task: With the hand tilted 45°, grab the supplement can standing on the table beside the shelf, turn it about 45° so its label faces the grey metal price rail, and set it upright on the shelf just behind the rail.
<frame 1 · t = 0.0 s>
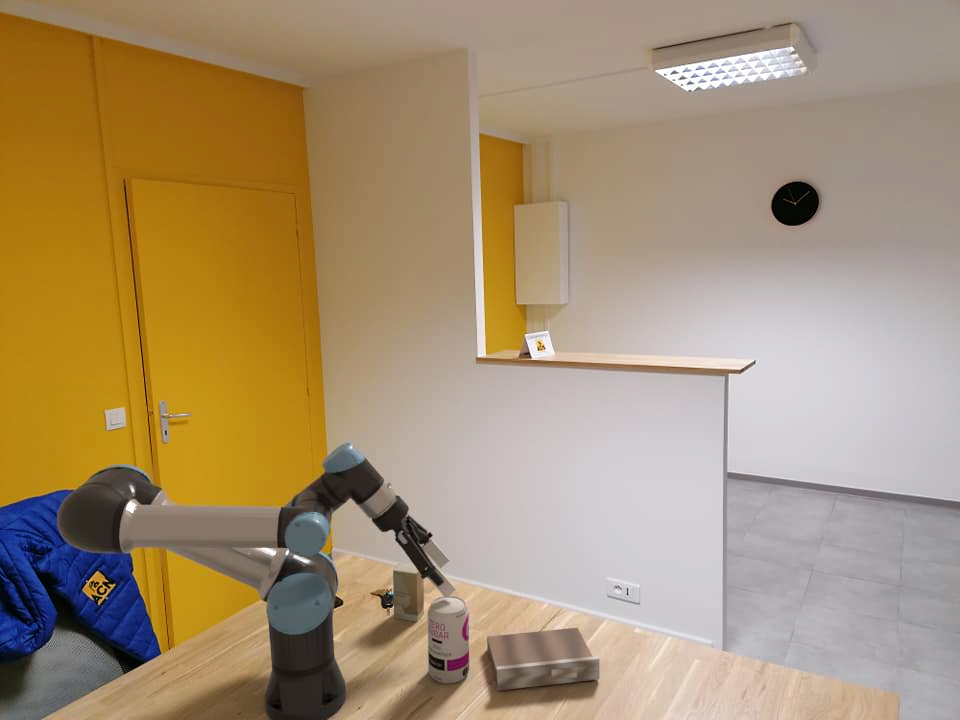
hand: (448, 578, 149), 16 cm above the table, tool tilted 35°, fingers open, 13 cm apart
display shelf: (540, 663, 145), on the table
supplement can: (448, 674, 142), on the table, touching gripper
skincare box: (409, 616, 165), on the table
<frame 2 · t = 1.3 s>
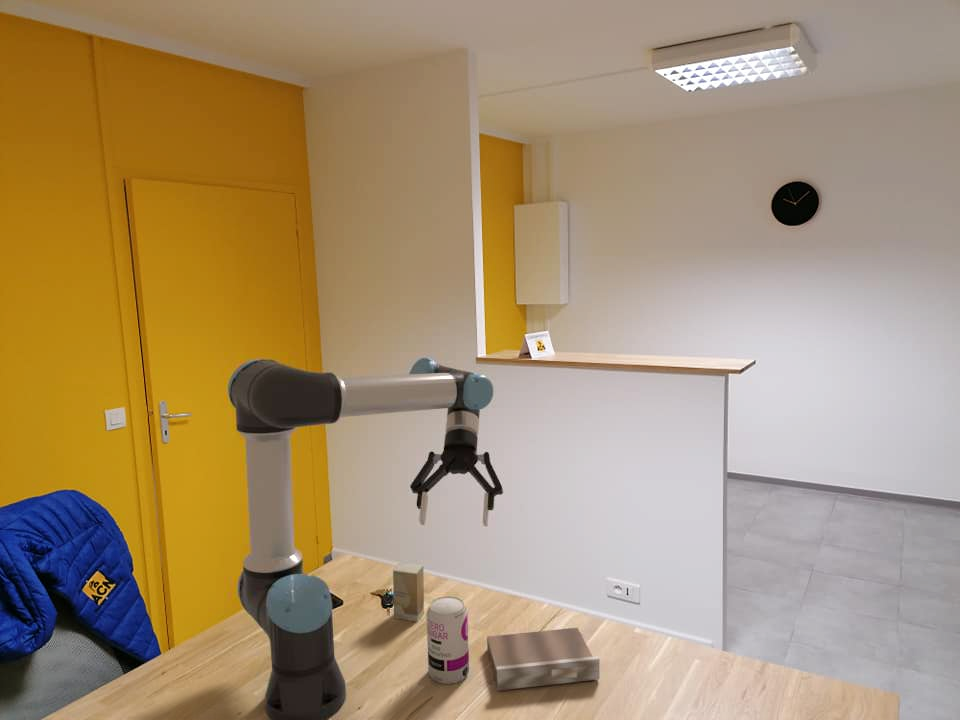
hand: (453, 523, 148), 28 cm above the table, tool tilted 45°, fingers open, 13 cm apart
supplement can: (449, 674, 142), on the table
everything else where it was.
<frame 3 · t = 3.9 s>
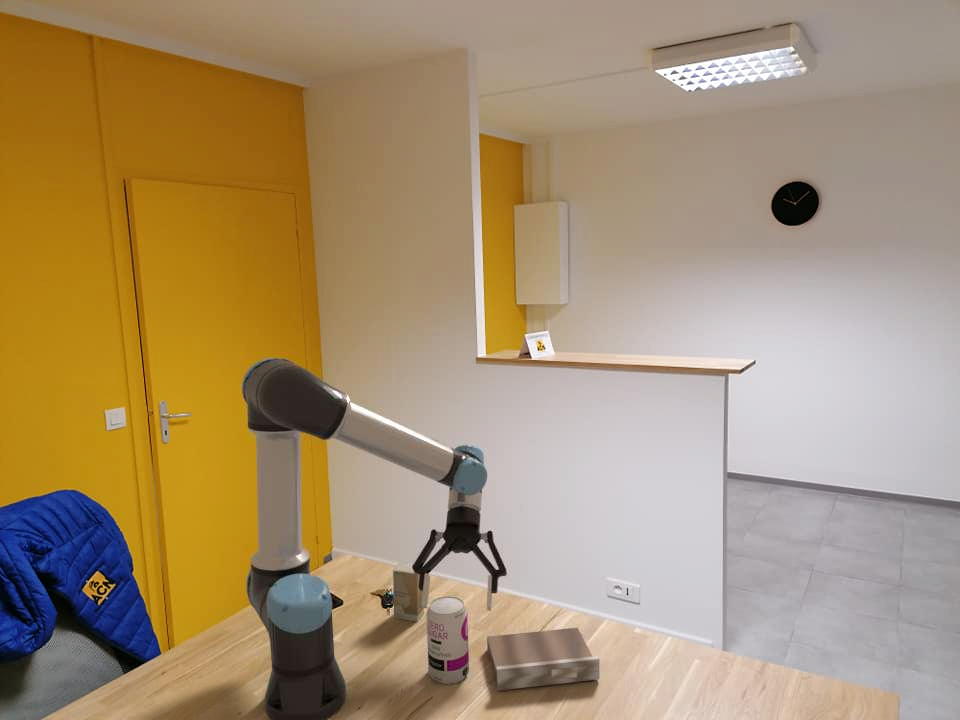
hand: (456, 607, 145), 12 cm above the table, tool tilted 45°, fingers open, 13 cm apart
nothing on the table moved.
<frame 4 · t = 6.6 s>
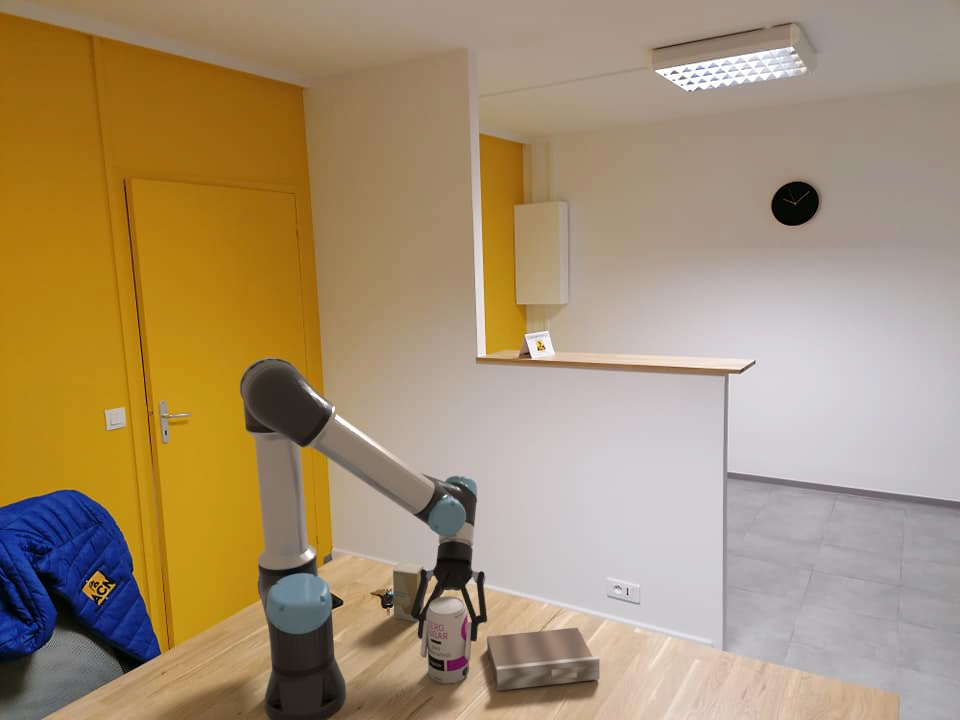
hand: (445, 656, 138), 6 cm above the table, tool tilted 45°, fingers closed on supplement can, 8 cm apart
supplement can: (449, 674, 142), on the table, touching gripper
everything else where it was.
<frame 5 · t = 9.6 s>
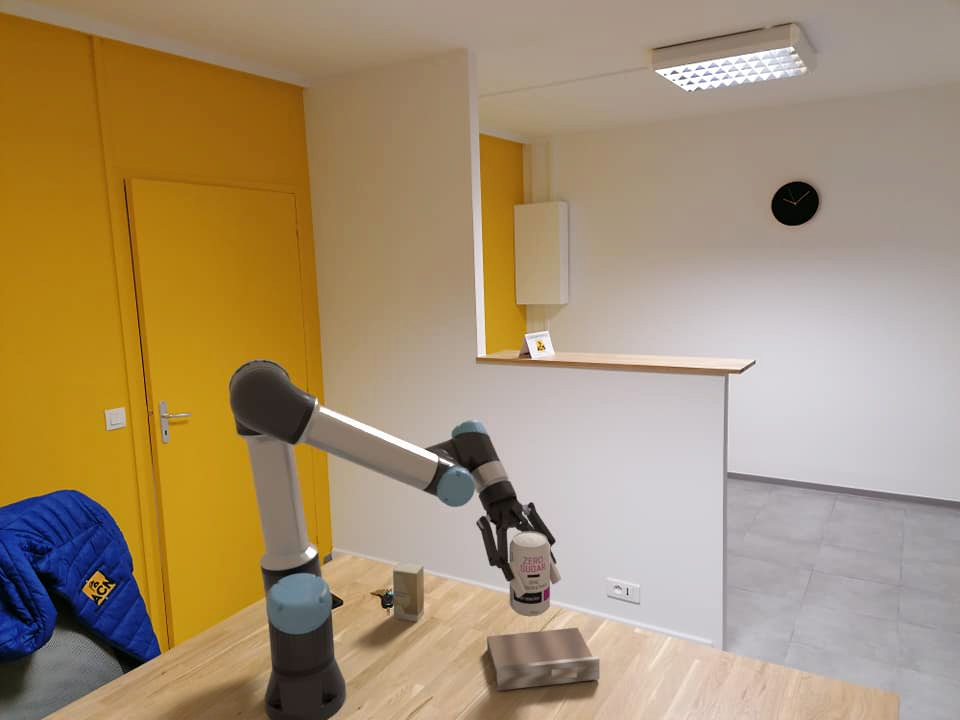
hand: (539, 588, 139), 18 cm above the table, tool tilted 45°, fingers closed on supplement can, 8 cm apart
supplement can: (529, 607, 143), point 12 cm above the table, touching gripper
everything else where it was.
when the fingers open (10 cm above the table, at t = 12.7 s): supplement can drops 1 cm, resting on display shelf.
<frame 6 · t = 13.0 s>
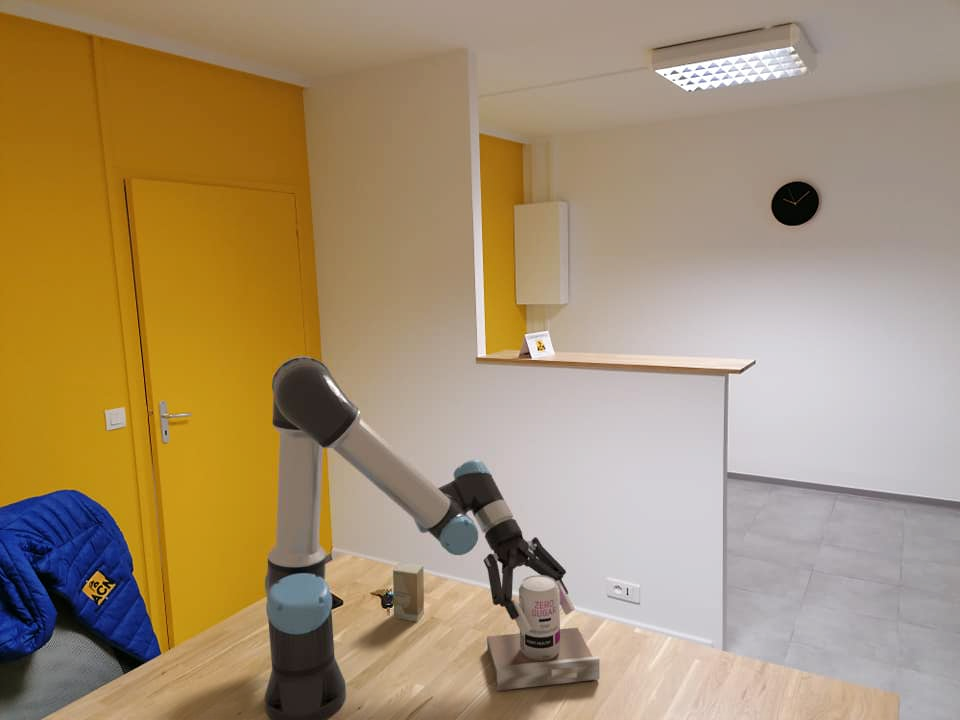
hand: (549, 622, 140), 11 cm above the table, tool tilted 45°, fingers open, 11 cm apart
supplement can: (540, 652, 144), point 3 cm above the table, touching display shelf
everything else where it was.
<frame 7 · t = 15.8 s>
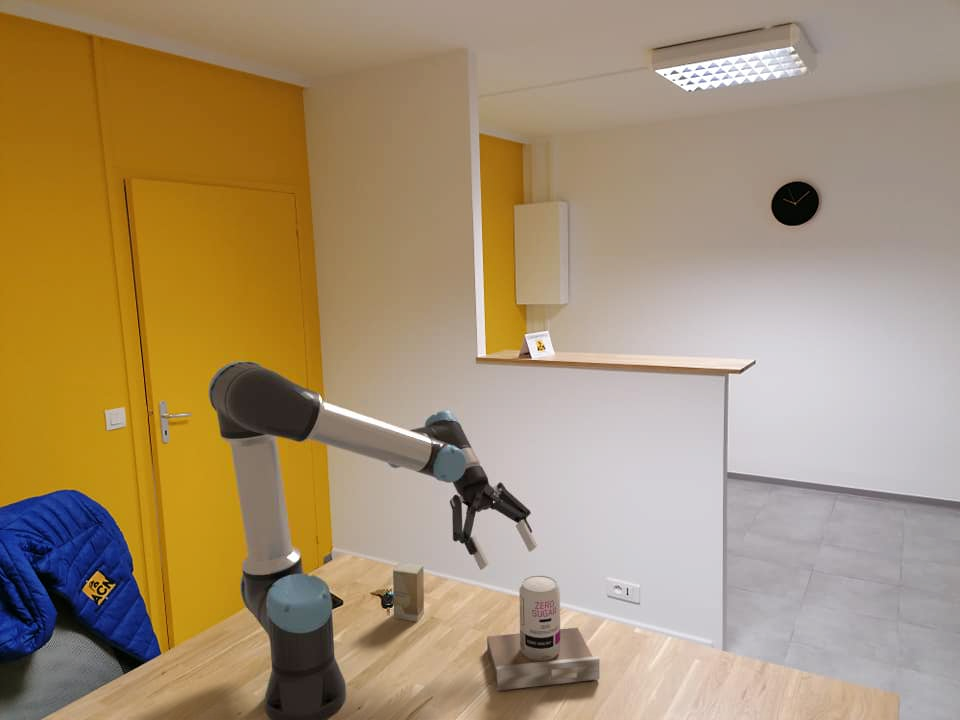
hand: (509, 557, 149), 20 cm above the table, tool tilted 45°, fingers open, 13 cm apart
nothing on the table moved.
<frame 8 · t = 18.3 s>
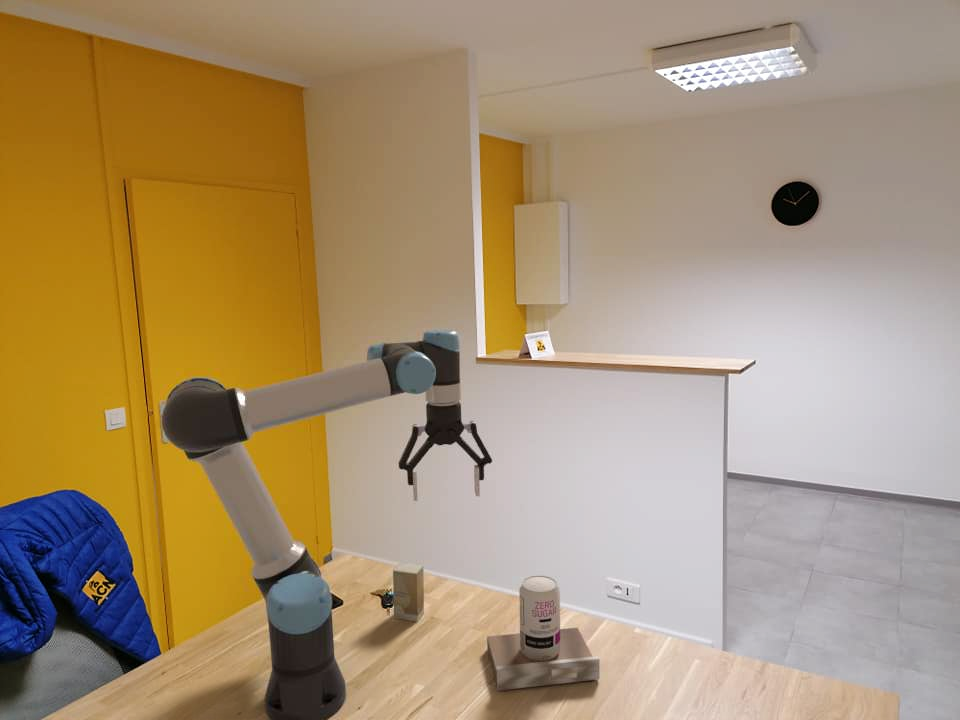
hand: (446, 496, 153), 32 cm above the table, tool pointing down, fingers open, 13 cm apart
nothing on the table moved.
at the end: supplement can inside the target area on the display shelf (0.2 cm from its centre), point 2.8 cm above the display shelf's base; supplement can tilted 0°; the gripper is holding nothing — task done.
